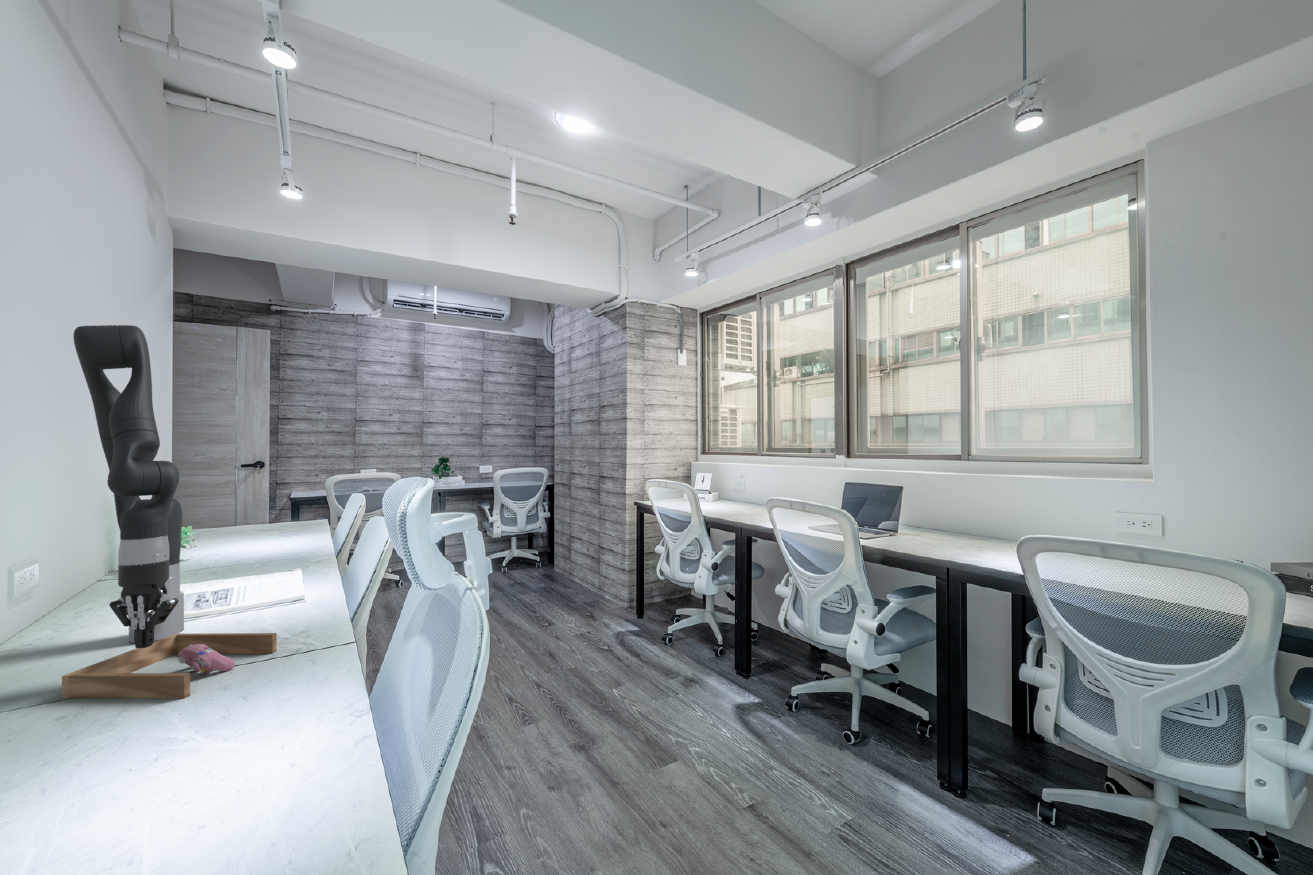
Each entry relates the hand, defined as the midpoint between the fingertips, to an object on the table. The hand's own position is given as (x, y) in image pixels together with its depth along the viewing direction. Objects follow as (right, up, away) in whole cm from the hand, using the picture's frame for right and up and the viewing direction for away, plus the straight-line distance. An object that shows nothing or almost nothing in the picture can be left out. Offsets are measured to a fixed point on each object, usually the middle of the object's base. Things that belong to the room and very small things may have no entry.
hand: (144, 646), depth 109 cm
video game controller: (+12, -6, +1) cm, 13 cm away
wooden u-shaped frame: (+7, -5, 0) cm, 9 cm away
